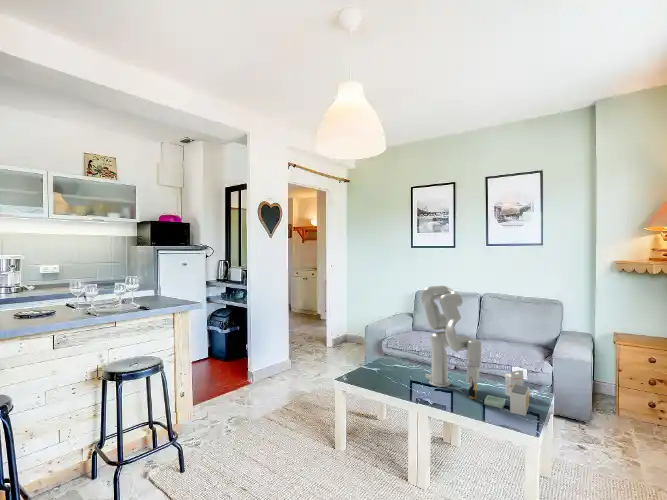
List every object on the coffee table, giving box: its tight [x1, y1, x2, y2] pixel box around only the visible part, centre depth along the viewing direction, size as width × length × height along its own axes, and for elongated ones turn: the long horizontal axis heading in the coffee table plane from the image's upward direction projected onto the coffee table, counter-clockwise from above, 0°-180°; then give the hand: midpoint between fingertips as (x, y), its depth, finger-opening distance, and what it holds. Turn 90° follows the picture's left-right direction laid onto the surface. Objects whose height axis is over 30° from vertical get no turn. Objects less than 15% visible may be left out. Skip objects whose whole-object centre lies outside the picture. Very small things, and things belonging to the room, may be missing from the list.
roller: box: [468, 382, 478, 400], centre depth 203 cm, size 4×4×8 cm
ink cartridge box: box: [504, 370, 524, 397], centre depth 208 cm, size 9×5×15 cm, turn 105°
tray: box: [483, 394, 507, 410], centre depth 197 cm, size 9×9×2 cm
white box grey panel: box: [509, 384, 530, 417], centre depth 190 cm, size 7×14×11 cm, turn 146°
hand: (472, 394), depth 203 cm, fingers closed on roller, 4 cm apart
